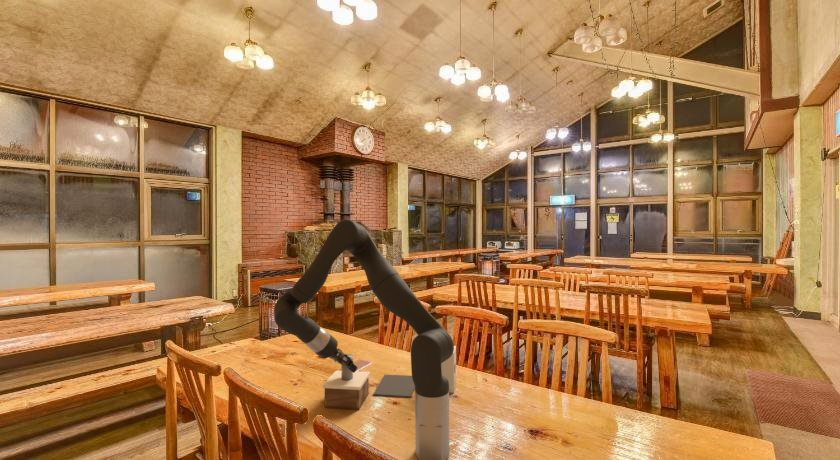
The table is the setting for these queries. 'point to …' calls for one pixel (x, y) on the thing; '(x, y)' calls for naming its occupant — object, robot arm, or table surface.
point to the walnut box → (346, 397)
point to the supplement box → (450, 370)
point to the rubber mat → (395, 386)
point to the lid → (346, 378)
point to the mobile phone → (361, 364)
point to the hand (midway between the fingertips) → (351, 368)
